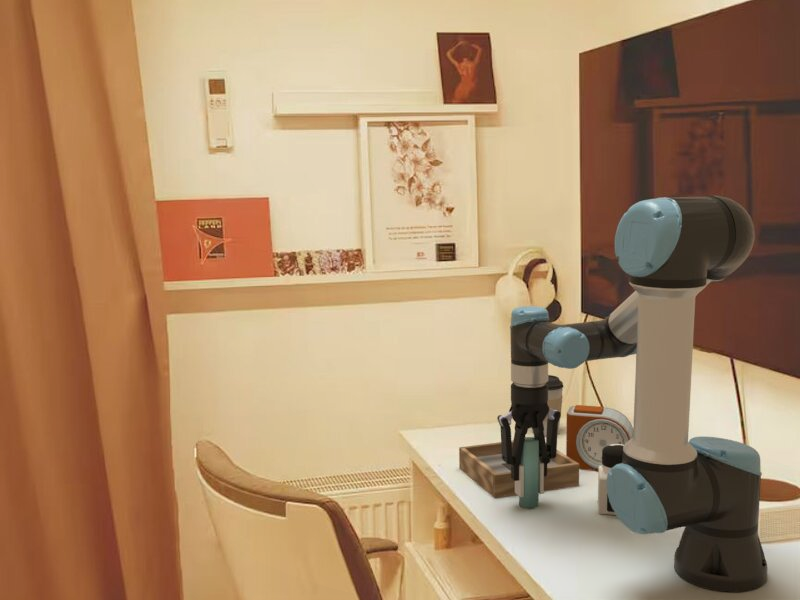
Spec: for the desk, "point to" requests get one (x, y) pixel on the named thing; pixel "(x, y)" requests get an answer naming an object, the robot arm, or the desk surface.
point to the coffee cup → (553, 398)
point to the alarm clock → (594, 433)
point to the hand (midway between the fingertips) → (529, 492)
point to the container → (609, 459)
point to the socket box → (496, 473)
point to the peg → (530, 473)
